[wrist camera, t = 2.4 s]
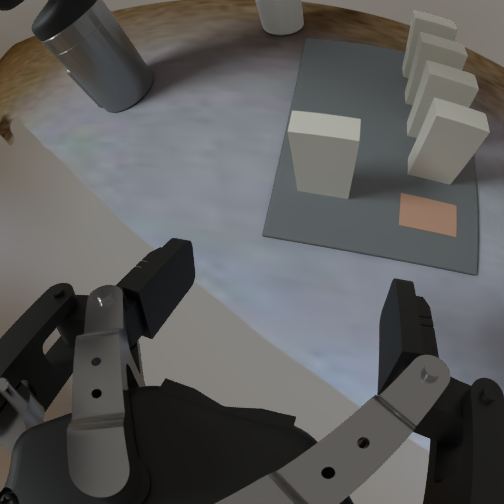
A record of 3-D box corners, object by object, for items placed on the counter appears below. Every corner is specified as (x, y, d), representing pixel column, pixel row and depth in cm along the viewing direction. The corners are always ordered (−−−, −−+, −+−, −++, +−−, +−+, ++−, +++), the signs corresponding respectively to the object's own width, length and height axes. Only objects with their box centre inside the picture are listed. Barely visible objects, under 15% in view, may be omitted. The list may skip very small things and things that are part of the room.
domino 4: (407, 136, 28) (429, 73, 19) (406, 122, 29) (426, 59, 19) (447, 146, 27) (479, 89, 18) (445, 132, 28) (474, 74, 18)
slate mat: (263, 236, 30) (261, 234, 29) (306, 40, 35) (305, 37, 35) (474, 275, 24) (476, 274, 24) (453, 67, 30) (454, 64, 29)
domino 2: (403, 76, 30) (415, 17, 21) (402, 67, 31) (413, 9, 21) (438, 85, 29) (457, 30, 20) (436, 76, 30) (453, 21, 20)
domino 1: (297, 191, 29) (287, 131, 20) (301, 173, 30) (292, 110, 20) (348, 199, 28) (359, 141, 19) (350, 180, 29) (360, 119, 19)
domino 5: (407, 174, 28) (436, 115, 18) (407, 158, 28) (434, 97, 18) (449, 184, 26) (489, 132, 17) (449, 168, 27) (485, 113, 17)
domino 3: (405, 103, 29) (422, 42, 20) (404, 92, 30) (419, 31, 20) (443, 113, 28) (467, 55, 19) (441, 101, 29) (463, 44, 19)
